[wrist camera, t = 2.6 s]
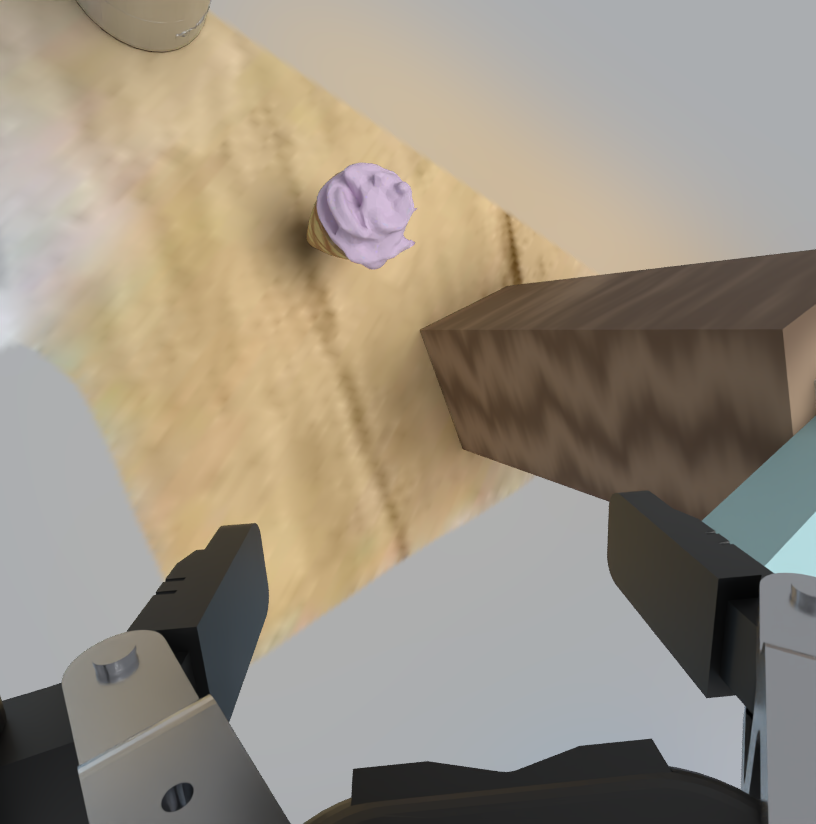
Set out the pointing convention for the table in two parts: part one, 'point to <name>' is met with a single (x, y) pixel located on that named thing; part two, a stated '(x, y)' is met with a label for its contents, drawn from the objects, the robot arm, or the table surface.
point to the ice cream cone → (362, 215)
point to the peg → (776, 509)
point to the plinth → (637, 375)
